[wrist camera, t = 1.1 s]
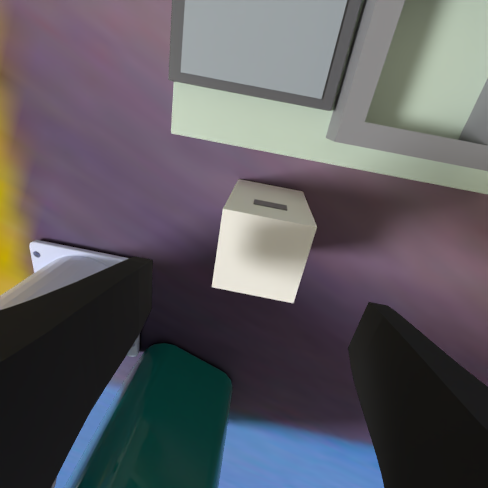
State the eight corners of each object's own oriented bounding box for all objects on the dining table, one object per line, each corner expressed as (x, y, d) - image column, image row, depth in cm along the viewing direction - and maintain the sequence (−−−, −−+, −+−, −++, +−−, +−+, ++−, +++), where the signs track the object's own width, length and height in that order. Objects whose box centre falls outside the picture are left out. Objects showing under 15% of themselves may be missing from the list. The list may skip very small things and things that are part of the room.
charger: (287, 248, 19) (293, 303, 13) (229, 237, 19) (211, 287, 13) (302, 190, 17) (317, 225, 12) (238, 178, 17) (223, 207, 12)
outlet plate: (483, 191, 16) (533, 209, 13) (176, 132, 16) (154, 136, 13) (612, -40, 12) (735, -96, 9) (191, -117, 12) (163, -198, 9)
